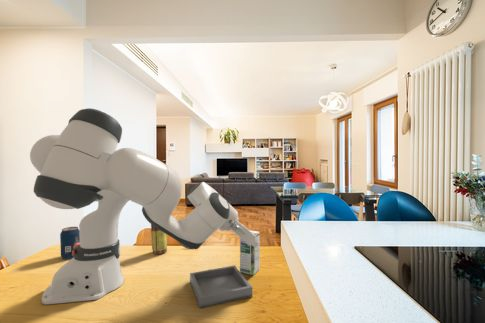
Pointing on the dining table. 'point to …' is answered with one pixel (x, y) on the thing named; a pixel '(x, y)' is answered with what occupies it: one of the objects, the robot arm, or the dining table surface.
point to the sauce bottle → (158, 241)
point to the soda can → (68, 241)
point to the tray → (219, 286)
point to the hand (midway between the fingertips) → (251, 241)
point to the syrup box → (250, 256)
